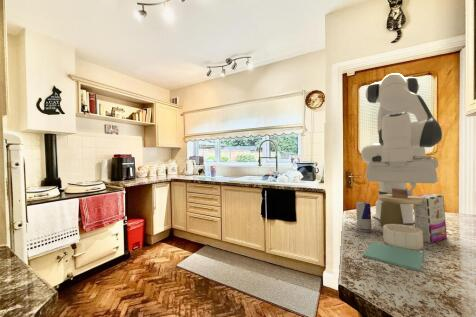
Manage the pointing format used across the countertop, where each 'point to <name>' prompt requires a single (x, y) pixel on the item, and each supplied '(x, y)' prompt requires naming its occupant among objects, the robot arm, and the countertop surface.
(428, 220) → the candy bar box
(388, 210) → the squeeze bottle
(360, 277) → the countertop surface
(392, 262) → the rubber mat
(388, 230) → the ceramic bowl
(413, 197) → the oak lid
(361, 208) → the energy drink
